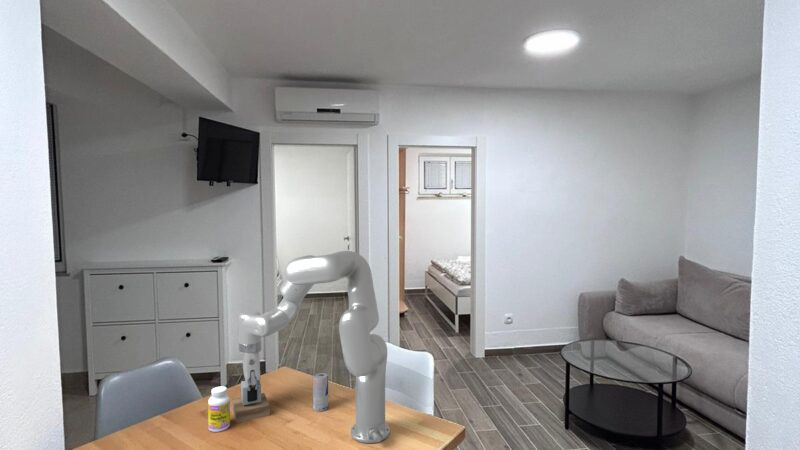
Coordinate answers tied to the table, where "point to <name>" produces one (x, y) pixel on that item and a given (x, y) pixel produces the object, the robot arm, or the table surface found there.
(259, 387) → the slate cube
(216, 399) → the supplement bottle
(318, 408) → the energy drink
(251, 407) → the walnut block
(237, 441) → the table surface
